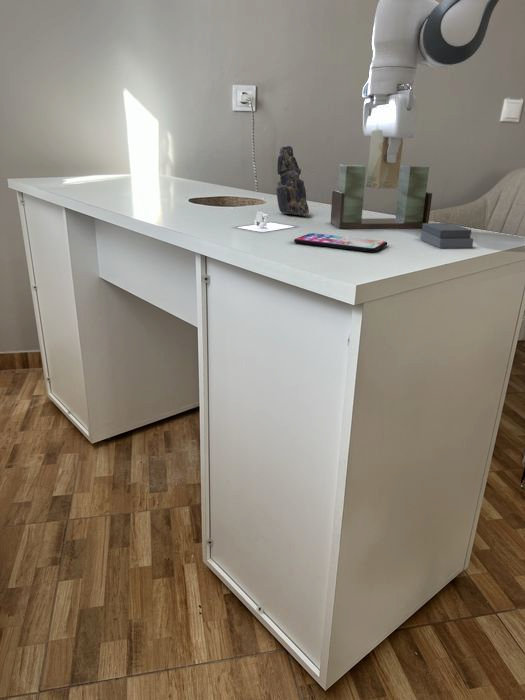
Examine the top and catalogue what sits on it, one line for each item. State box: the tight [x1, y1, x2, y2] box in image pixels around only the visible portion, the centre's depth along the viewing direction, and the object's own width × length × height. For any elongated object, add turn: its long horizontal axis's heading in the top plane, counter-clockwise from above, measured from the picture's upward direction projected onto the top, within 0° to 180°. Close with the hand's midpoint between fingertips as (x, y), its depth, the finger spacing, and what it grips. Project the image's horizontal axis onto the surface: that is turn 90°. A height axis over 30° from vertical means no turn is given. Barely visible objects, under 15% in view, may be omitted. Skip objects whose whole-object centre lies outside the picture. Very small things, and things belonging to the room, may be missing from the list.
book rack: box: [330, 164, 433, 230], centre depth 115 cm, size 19×7×12 cm, turn 98°
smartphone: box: [293, 232, 388, 253], centre depth 96 cm, size 8×1×15 cm
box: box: [365, 130, 404, 190], centre depth 112 cm, size 5×4×11 cm
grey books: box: [420, 222, 474, 249], centre depth 99 cm, size 6×8×3 cm
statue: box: [275, 145, 310, 216], centre depth 128 cm, size 6×12×15 cm, turn 28°
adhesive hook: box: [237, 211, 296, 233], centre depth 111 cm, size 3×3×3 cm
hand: (384, 161), depth 112 cm, fingers closed on box, 5 cm apart
